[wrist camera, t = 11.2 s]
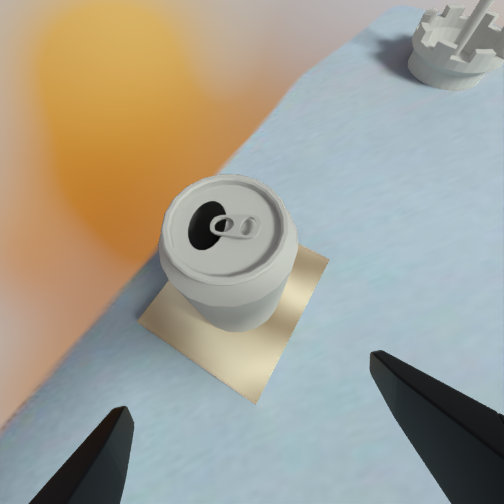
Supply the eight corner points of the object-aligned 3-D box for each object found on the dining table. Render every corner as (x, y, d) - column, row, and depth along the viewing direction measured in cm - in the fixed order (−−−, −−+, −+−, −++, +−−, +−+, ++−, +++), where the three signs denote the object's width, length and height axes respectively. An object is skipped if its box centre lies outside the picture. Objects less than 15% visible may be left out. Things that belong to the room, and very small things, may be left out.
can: (209, 247, 25) (175, 152, 14) (284, 261, 24) (311, 172, 13) (186, 324, 21) (118, 280, 11) (272, 342, 21) (294, 314, 10)
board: (227, 214, 28) (225, 206, 27) (325, 265, 25) (329, 259, 24) (143, 324, 23) (136, 321, 22) (255, 402, 20) (255, 404, 19)
